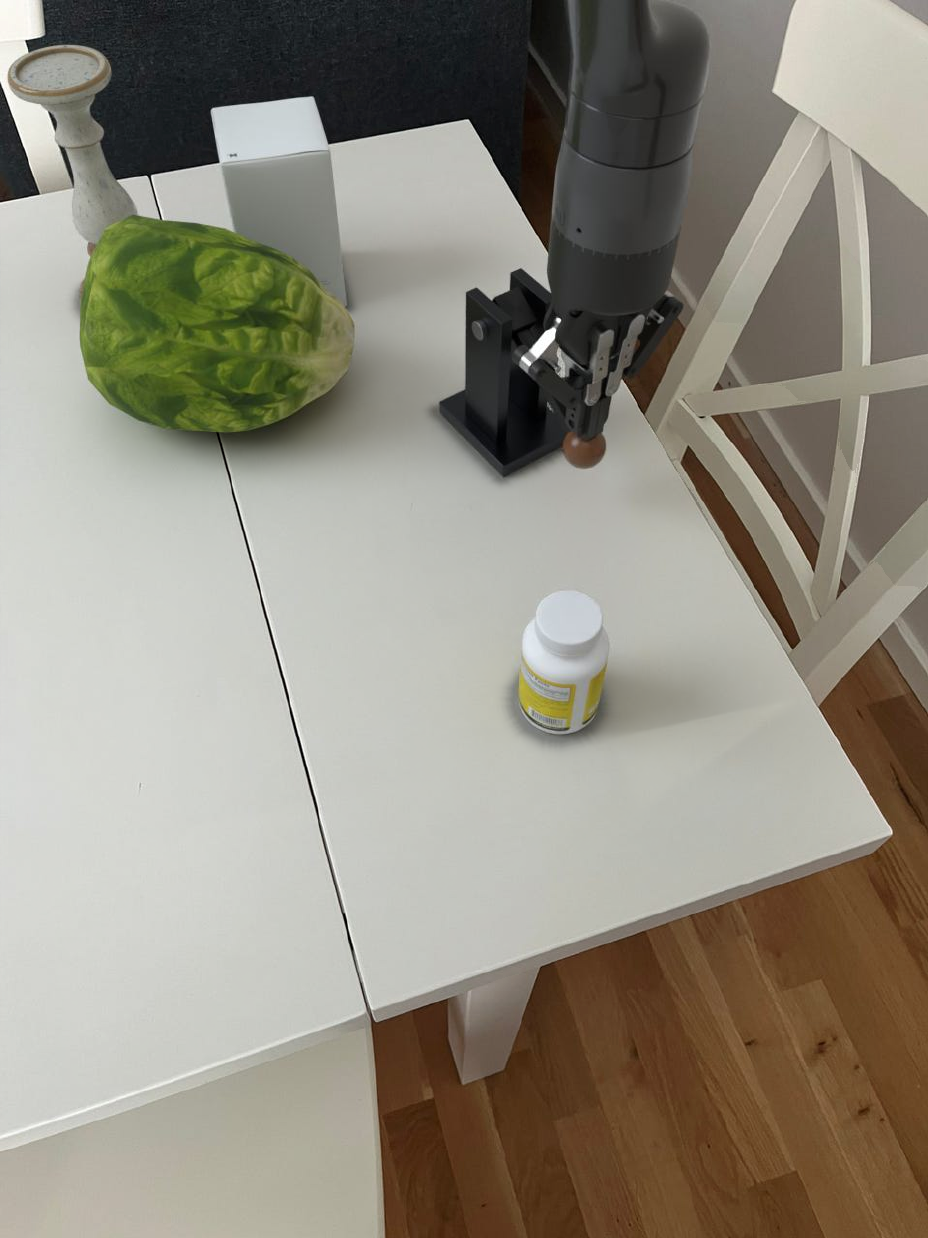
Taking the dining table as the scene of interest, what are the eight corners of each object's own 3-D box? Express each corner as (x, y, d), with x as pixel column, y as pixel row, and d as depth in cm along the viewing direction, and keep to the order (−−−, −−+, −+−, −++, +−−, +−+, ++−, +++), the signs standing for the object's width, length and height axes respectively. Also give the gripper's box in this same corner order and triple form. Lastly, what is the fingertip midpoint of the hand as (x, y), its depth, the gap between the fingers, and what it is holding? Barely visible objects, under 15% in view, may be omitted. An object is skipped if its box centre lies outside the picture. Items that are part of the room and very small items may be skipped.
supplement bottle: (579, 658, 68) (595, 570, 60) (610, 723, 65) (631, 640, 57) (505, 679, 67) (511, 592, 59) (533, 746, 64) (543, 665, 56)
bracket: (572, 441, 80) (589, 310, 70) (502, 477, 78) (509, 347, 67) (506, 379, 84) (513, 247, 74) (439, 412, 82) (435, 280, 72)
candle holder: (199, 288, 91) (141, 60, 75) (128, 338, 87) (50, 108, 71) (133, 254, 94) (63, 28, 78) (61, 301, 90) (-28, 72, 74)
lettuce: (334, 496, 80) (380, 332, 70) (58, 450, 74) (66, 262, 64) (327, 386, 91) (367, 231, 81) (88, 338, 85) (98, 163, 75)
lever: (602, 463, 74) (621, 449, 71) (569, 481, 73) (586, 468, 70) (511, 301, 74) (526, 280, 71) (476, 316, 73) (490, 296, 70)
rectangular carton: (350, 308, 90) (332, 149, 78) (251, 323, 89) (217, 164, 76) (334, 250, 95) (315, 92, 83) (241, 263, 94) (208, 105, 81)
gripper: (567, 284, 53) (543, 502, 67) (746, 204, 57) (688, 424, 71) (485, 216, 56) (479, 437, 70) (660, 146, 61) (621, 366, 75)
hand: (585, 430), depth 71 cm, fingers closed
